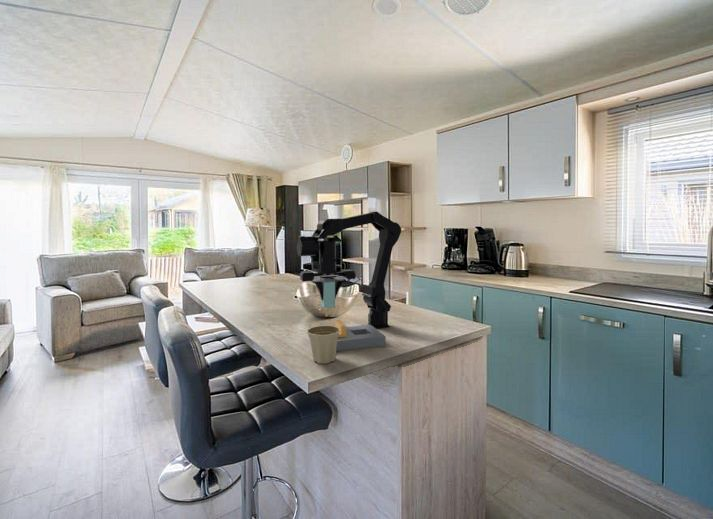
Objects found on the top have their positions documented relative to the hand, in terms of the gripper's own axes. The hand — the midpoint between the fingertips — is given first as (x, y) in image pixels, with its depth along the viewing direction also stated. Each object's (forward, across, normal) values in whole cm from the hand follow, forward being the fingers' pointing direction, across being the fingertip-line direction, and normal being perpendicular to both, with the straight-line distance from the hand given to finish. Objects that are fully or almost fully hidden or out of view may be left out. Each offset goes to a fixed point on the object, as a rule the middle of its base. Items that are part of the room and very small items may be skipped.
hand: (328, 299), depth 127 cm
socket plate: (+12, -4, +12) cm, 17 cm away
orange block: (+9, +2, +12) cm, 15 cm away
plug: (+2, 0, 0) cm, 2 cm away
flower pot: (+12, +7, +25) cm, 29 cm away
